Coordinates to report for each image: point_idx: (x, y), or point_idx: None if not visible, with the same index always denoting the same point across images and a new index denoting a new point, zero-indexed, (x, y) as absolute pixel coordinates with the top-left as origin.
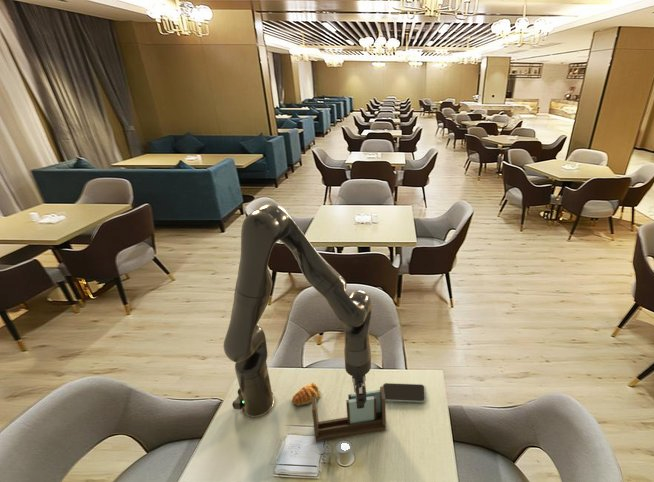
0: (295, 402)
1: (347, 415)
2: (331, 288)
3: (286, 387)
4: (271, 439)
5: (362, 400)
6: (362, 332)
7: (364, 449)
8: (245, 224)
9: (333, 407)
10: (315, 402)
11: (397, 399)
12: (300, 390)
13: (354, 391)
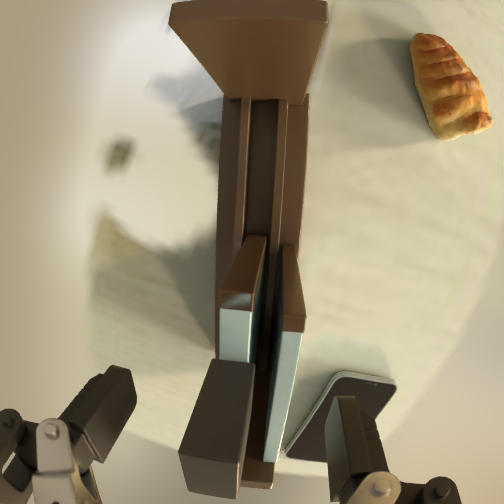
0: (418, 38)
1: (238, 252)
2: None
3: (481, 44)
4: None
5: (17, 456)
6: None
7: (161, 273)
8: None
9: (379, 182)
10: (253, 18)
11: (317, 411)
12: (466, 66)
13: (34, 481)
